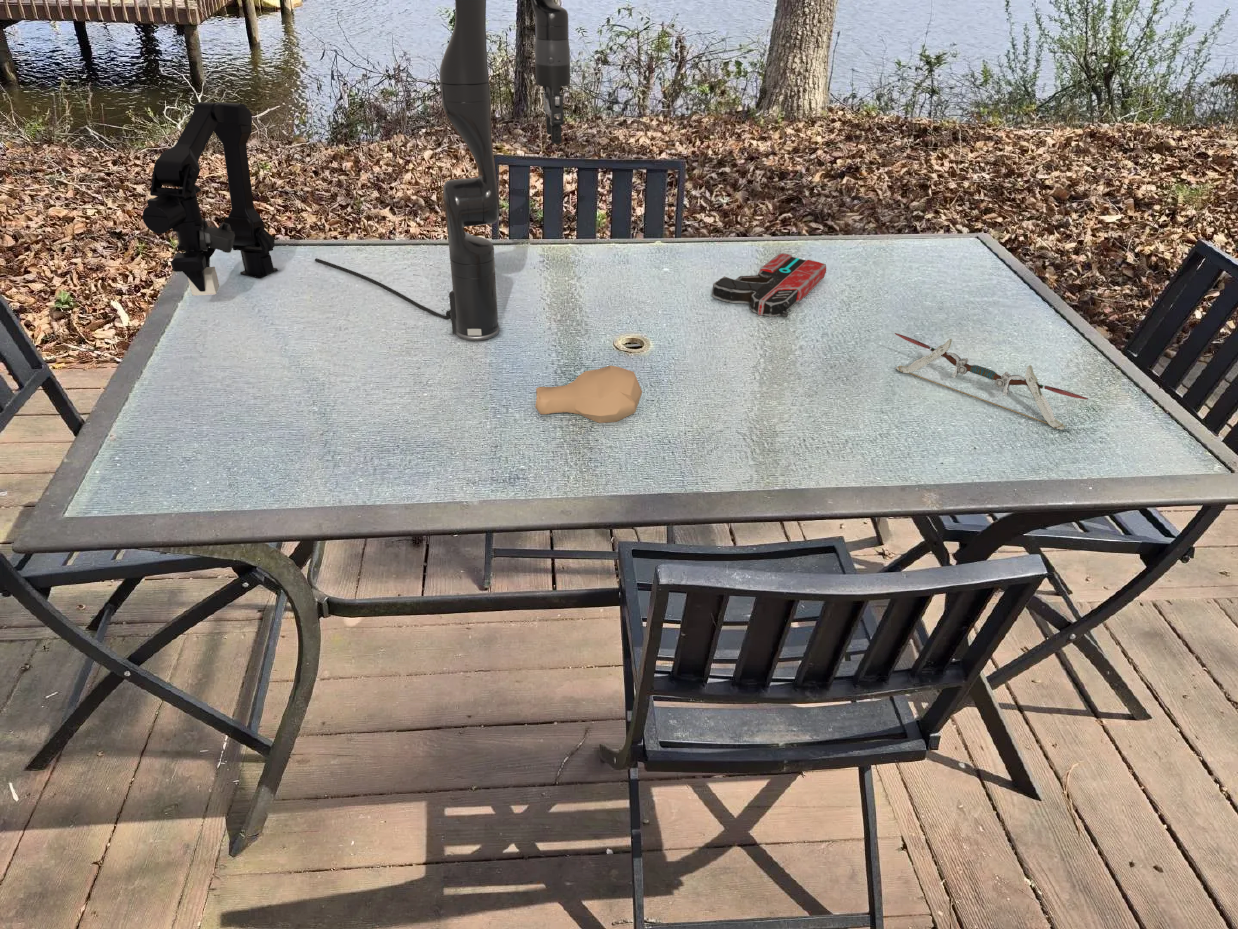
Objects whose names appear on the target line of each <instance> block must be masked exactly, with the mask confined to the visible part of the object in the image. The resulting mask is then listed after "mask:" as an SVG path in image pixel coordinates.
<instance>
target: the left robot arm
mask: <svg viewBox="0 0 1238 929" xmlns="http://www.w3.org/2000/svg"><path fill="white" fill-rule="evenodd" d="M252 123H253V116H252V112H251V110H250V109H249V108H248V107H247V106H246V105H245V104H244V103H238V102H222V101H216V102H209V101H208V102H207V101H198V102H197V103H195V104H194V106H193V113H192V114H191V116H190V118H189V120H188V122H187V123H186V125H185V127H184V128H183V131H182V132H181V134H180V136H179V137H178V139H177V141H176V142H175V144H174V146H172V147H170V148H168V149H166V150H164V151H163V152H162V153H161V154H160V155H159V157H157V159H156V161H154V164H153V170H152V176H151V184H150V190H149V196H151V197H152V198H149V199H147V200H146V203H147V206H146V207H145V208H144V209H143V212H142V221H143V223H144V225H145V227H146V228H147V229H148V230H150V231H151V232H153V233H155V234H158V235H162V234H165V233H167V232H169V231H171V230H172V233H174V232H175V234H176V237H177V241H178V243H177V245H176V248H177V251H184V252H177V253H176V254H175V255H174V256H173V258H172V260H171V262H170V266H171V269H172V271H173V272H174V273H175V272H176V273H180V272H181V273H183V274H184V275H185V276H186V277H187V279H188V278H189V279H190V280H191V281H192V283H193V284H194V285H195V286H196V287H197V288H198V290H199V291H201V292H202V291H205V277H204V269H205V268H206V267H211V257H212V256H213V255H214V253H215V252H216V250H218V251H222V252H223V253H226V254H227V253H228V254H229V253H231V252H232V251H240V255H241V259H242V264H243V268H244V270H242V271H240V272H239V273H240V275H241V276H246V277H250V278H254V279H258V280H259V279H260V280H261V279H263V278H265V277H267V276H270V275H272V274H273V273H276V272H278V271H279V269H278V268H277V267H274V264H273V259H272V255H271V253H270V252H272V251H274V248H275V246H276V245H275V244H276V242H275V241H276V240H275V237H274V236H273V235H272V234H271V233H269V232H268V231H267V230H266V229H265V225H264V224H265V223H264V220H263V218H262V216H261V215H260V214H259V212H258V211H257V210H256V209H255V205H254V198H253V197H254V196H253V189H252V182H251V180H252V179H251V174H250V164H249V157H248V149H247V143H248V142H249V139H250V137H251V135H252V133H253V126H252ZM213 133H214V134H215V136H216V137H217V139H218V140H219V141H220V142H221V144H222V147H223V154H224V161H225V163H224V164H225V168H226V177H227V183H228V191H229V198H230V205H231V209H230V211H229V214H228V216H225V217H224V220H223V222H222V223H220V225H219V226H214V227H212V226H209V224H208V221H207V220H206V219H205V218H203V216H202V212H201V208H200V204H199V200H198V196H197V194H199V193H201V191H202V188H201V187H199V186H197V185H196V183H197V182H198V178H199V175H200V172H201V168H200V164H199V160H200V158H201V156H202V154H203V152H204V150H205V148H206V146H207V144H208V142H209V141H210V139H211V137H212V135H213Z"/></svg>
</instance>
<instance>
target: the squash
mask: <svg viewBox="0 0 1238 929" xmlns="http://www.w3.org/2000/svg"><path fill="white" fill-rule="evenodd" d="M642 393H643V390H642V387H641V386H640V383H639V380H638V378H637V376H636V373H635V372H634V371H632V370H629V369H627V368H623V367H621V366H615V365H611V364H610V365H607V366H603V367H601V368H596V369H591V370H585V371H584V372H582V373H580V374H579V375H578V376H577V377H576V378H575V379H574V380H572V381H571V382H569V383H568V384H566V385H556V386H538V387H536V388H535V396H536V400H535V405H534V408H535V410H537V412H538V414H540V415H549V414H557V413H558V414H559V413H561V414H562V413H570V414H575V415H576V414H577V415H580V416H582V417H584V418H586V419H588V420H590V421H593V422H596V423H598V424H602V423H617V422H620V421H622V420H624V419H625V418H627V417H629V416H631V415H633V414H635V413H636V412H637V409H638V406H639V403H640V399H641V397H642Z"/></svg>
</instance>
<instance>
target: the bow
mask: <svg viewBox="0 0 1238 929" xmlns="http://www.w3.org/2000/svg"><path fill="white" fill-rule="evenodd" d="M894 335H895V336H897V337H899V338H901V339H903V340H904V341H906V342H908V343H911V344H914V345H916V346H919V347H921V348H924V349H927V350H930V351H931V353H930V354H928V355H925V356H921V357H920V358H918V359H916V360H915V361H913V362H912V363H911V364H910V365H898V366H896V370H897V371H898V372H900V373H902V374H909V375H912V376H915V377H918V378H921V379H923V380H926V381H928V382H931V383H934V384H936V385H940V386H942V387H945V388H948V389H950V390H953V391H956V392H959V393H962V394H964V395H967V396H970V397H972V398H976V399H977V400H980V401H984V402H986V403H989V404H992V405H995V406H998V407H1000V408H1003V409H1005V410H1009V411H1011V412H1014V413H1016V414H1019V415H1022V416H1025V417H1027V418H1030V419H1033V420H1036V421H1039V422H1041V423H1044V424H1046V425H1049V426H1050V427H1052V428H1053V429H1056V430H1061V431H1062V430H1065V428H1066V427H1067V425H1065V424H1064V423H1062V422H1061V421H1060V420H1058V419H1056V418H1055V414H1054V412H1053V409H1052V406H1051V405H1050V403H1049V402H1048V400H1047V398H1046V396H1045V395H1044V394H1043V393H1042V390H1041V389H1043V388H1044V389H1045V390H1047V391H1050V392H1053V393H1056V394H1058V395H1063V396H1065V397H1070V398H1074V399H1081V400H1089V399H1090V398H1088V397H1085V396H1083V395H1080V394H1077V393H1074V392H1071V391H1068V390H1065V389H1062V388H1057V387H1053V386H1049V385H1044V384H1040V383H1039V379H1038V378H1037V376H1036V374H1035V373H1034V369H1033V366H1032V365H1031V364H1030V365H1028V366H1027V367H1026V371H1025V375H1024V376H1022V375H1020V374H1011V373H1009V372H1008V371H1005V372H1004V373H1003V374H1001V375H1000V374H998V373H997V372H996V371H995V370H993V369H989V368H987V367H984V366H981V365H978V364H972V365H971V364H969V358H968V357H967V358H961V356H959V355H958V354H957V353H955V352H952V351H950V352H949V350H950V348H951V345H952V342H953V339H952V338H949V339H948V340H947V341H946V342H945V343H944V344H941V345H939V346H937V347H936V348H934V347H931V346H930V345H928V344H926V343H924V342H922V341H919V340H917V339H914V338H911V337H909V336H906V335H902V334H900V333H897V332H894ZM942 358H944V359H945V360H947V362H949V363H950V364H951V365H953V366H955V367H954V370H953V372H952V374H951V377H952V378H954V379H956V378H957V377H959V376H958V375H959V374H960V375H962V376H965V375H966V374H967V373H968V372H969V373H971V374H974V375H977V376H980V377H983V378H986V379H989V380H992V381H995V382H994V385H995V386H996V387H997V388H998V389H999V388H1000V389H1003V390H1002V394H1001V395H1002V396H1005V397H1007V396H1008V395H1009V394H1010V390H1011V389H1010V386H1026V388H1027V389H1028V391H1029V392H1030V394H1031V396H1032V397H1033V399H1034V401H1035V404H1036V406H1037V408H1038V410H1039V411H1040V414H1041V415H1042V417H1043V418H1044V420H1045V421H1043V420H1041V419H1038V418H1036V417H1033V416H1030V415H1027V414H1025V413H1022V412H1020V411H1017V410H1014V409H1012V408H1011V409H1010V408H1008V407H1005V406H1002V405H1000V404H997V403H994V402H992V401H989V400H986V399H983V398H981V397H978V396H975V395H972V394H971V393H967V392H964V391H961V390H958V389H956V388H953V387H950V386H948V385H945V384H942V383H940V382H937V381H934V380H931V379H929V378H925V377H922V376H920V375H918V374H915V373H913V372H915V371H919V370H921V369H922V368H924V367H925V366H927V365H929V364H930V363H933V362H935V361H937V360H940V359H942ZM1024 377H1025V378H1024Z"/></svg>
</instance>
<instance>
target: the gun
mask: <svg viewBox="0 0 1238 929" xmlns="http://www.w3.org/2000/svg"><path fill="white" fill-rule="evenodd" d="M826 273H827V264H826V263H823V262H820V261H816V260H812V259H802V258H799V257H795V256H793V255H792V254H791V253H784V252H780V253H778V254H777V255H775V256H774V257H773V258H771V259H770V260H768V261H767V262H766V263H765V264H763V265H762V266H761V267H760V269H759V271H758V273H757V274H756V275H753V274H752V275H751V274H750V275H740V276H738V277H737V278H735V279H734V278H731V277H727V276H722V277H720V279H717V281H715V282H713V283H712V291H711V297H713V298H714V299H716V300H719V301H723V302H727V303H730V304H750V305H749V308H750V310H751V312H753V313H755V314H757V315H758V316H760V317H761V316H765V317H770V318H771V317H777V316H780V317H784V318H787V317H788V315H789V311H788V310H790V309H791V308H792V307H793V306H794V305H795V304H798V303H799V302H801V301H802V300H803V299H804V298H805V297H807V296H808V295H809V294H810V293H811V292H812V291H813V290H814V289H815V287H817V285H818V284H820V283H821V282H822V280H823V279H824V278H825V276H826Z"/></svg>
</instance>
